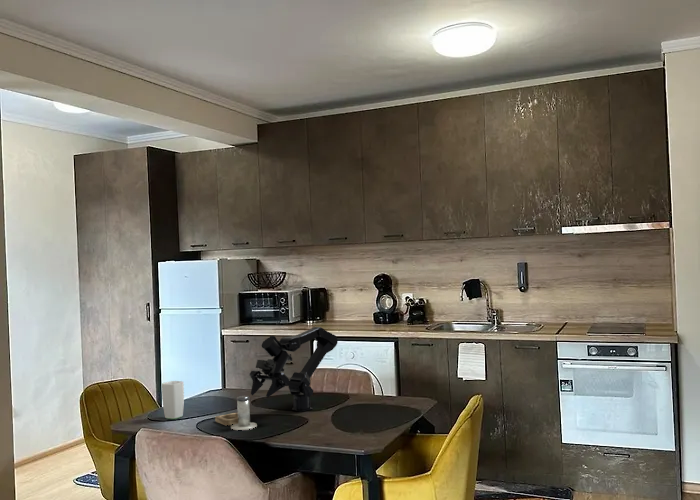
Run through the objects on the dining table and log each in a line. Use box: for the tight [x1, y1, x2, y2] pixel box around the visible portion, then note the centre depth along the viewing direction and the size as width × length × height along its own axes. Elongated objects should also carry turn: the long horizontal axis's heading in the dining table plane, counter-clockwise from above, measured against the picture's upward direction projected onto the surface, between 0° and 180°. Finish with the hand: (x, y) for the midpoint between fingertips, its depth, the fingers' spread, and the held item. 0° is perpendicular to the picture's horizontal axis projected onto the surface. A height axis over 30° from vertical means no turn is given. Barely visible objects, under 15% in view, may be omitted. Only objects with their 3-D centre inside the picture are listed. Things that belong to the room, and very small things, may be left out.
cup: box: [161, 380, 185, 420], centre depth 270 cm, size 7×7×15 cm
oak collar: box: [214, 411, 238, 427], centre depth 260 cm, size 10×10×2 cm
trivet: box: [230, 421, 258, 431], centre depth 250 cm, size 10×10×1 cm
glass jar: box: [236, 395, 251, 427], centre depth 250 cm, size 5×5×11 cm
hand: (259, 395), depth 257 cm, fingers open, 9 cm apart
